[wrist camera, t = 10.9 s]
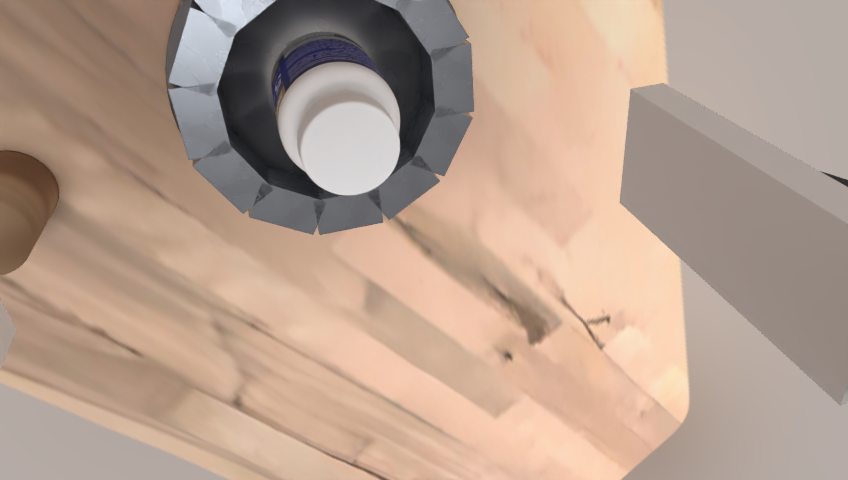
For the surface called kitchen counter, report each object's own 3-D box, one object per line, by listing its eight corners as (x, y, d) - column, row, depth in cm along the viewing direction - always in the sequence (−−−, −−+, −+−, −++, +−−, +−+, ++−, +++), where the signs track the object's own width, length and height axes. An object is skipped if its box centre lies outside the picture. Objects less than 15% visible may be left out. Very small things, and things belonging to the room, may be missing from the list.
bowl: (125, -61, 29) (113, -51, 26) (453, -98, 32) (476, -93, 29) (210, 232, 37) (208, 265, 34) (467, 183, 39) (487, 210, 36)
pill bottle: (251, 54, 32) (258, 115, 24) (352, 13, 32) (390, 61, 24) (297, 149, 35) (316, 229, 27) (389, 110, 35) (433, 179, 27)
